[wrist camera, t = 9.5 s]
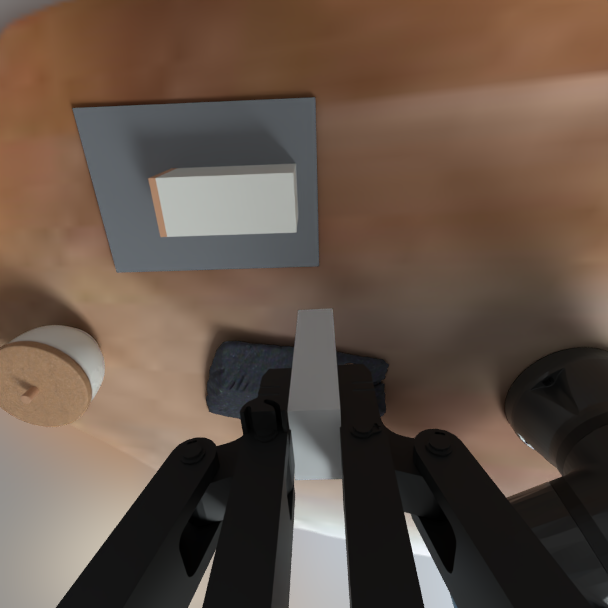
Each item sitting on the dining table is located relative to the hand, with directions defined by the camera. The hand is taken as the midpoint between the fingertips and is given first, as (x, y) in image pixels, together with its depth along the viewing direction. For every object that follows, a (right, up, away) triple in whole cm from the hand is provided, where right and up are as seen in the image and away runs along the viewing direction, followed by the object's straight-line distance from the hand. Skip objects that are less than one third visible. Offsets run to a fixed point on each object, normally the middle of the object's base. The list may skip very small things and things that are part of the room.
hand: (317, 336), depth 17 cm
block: (-13, +11, +19) cm, 25 cm away
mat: (-10, +13, +22) cm, 27 cm away
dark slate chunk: (-2, -9, +33) cm, 34 cm away
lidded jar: (-29, -4, +31) cm, 42 cm away
